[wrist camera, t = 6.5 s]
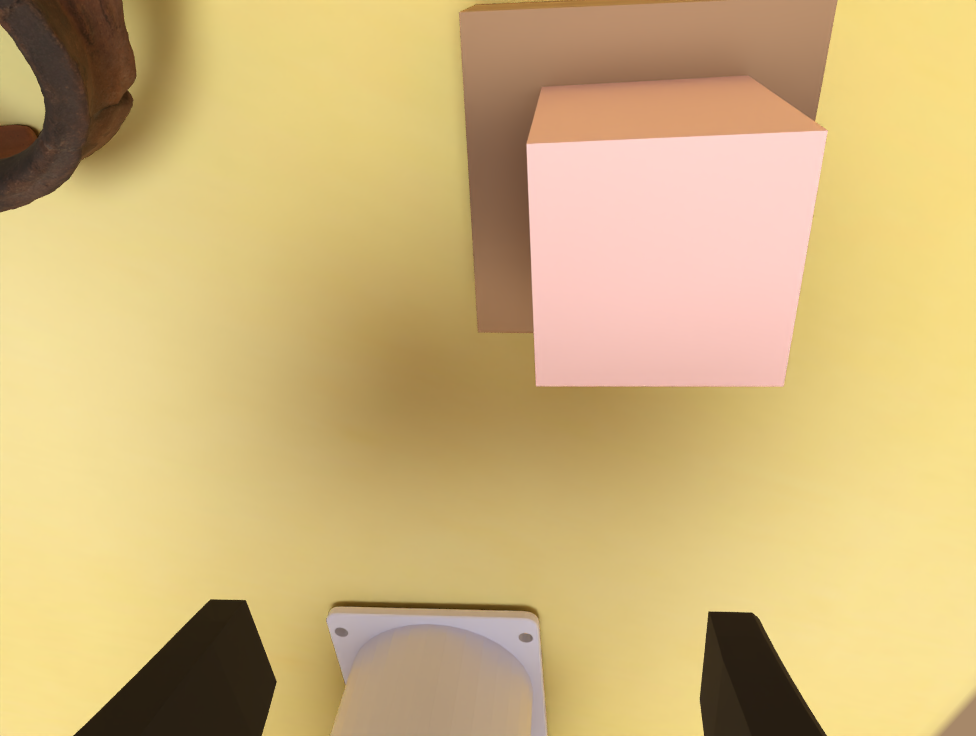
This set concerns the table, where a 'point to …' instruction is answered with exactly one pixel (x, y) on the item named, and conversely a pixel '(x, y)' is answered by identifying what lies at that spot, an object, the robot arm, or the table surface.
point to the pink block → (668, 231)
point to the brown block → (595, 60)
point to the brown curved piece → (65, 90)
